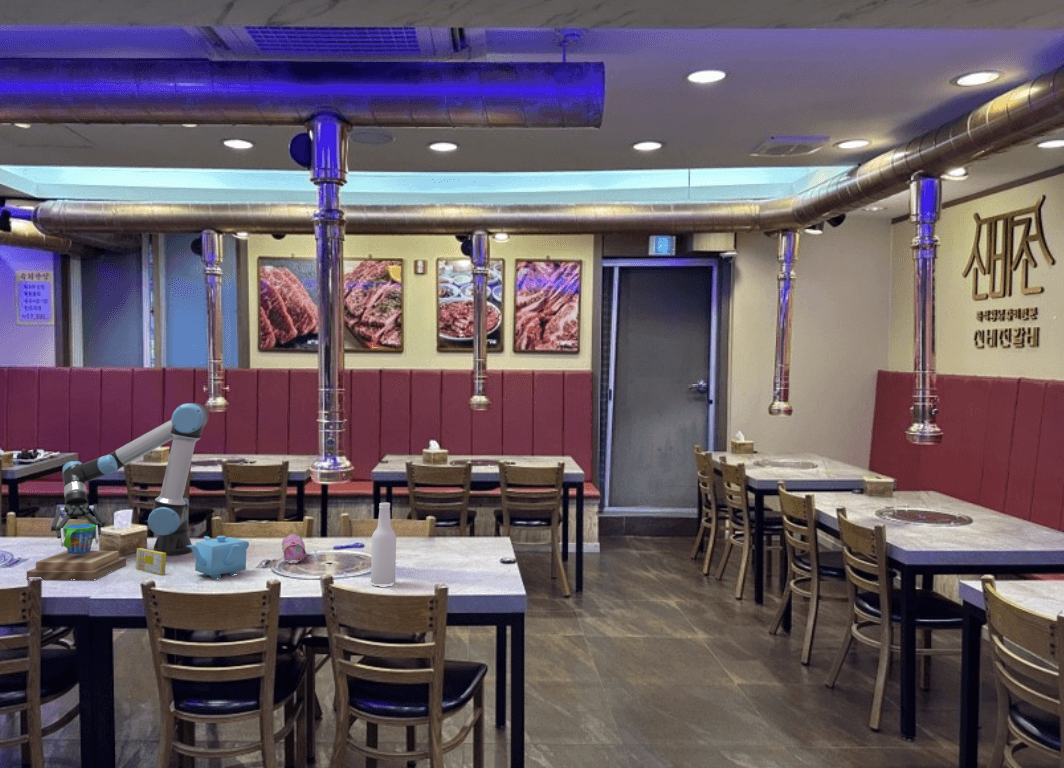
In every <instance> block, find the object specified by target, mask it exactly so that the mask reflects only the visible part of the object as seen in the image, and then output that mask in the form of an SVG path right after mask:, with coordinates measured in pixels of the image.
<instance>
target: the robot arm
mask: <svg viewBox="0 0 1064 768" xmlns="http://www.w3.org/2000/svg"><path fill="white" fill-rule="evenodd" d="M209 417H210V415H209V411H208V410H207V408H206V407H205V406H204V405H203V404H201V403H198V402H191V403H189V402H188V403H187V402H186V403H183V404H180V405H179V406H178V407H176V409H175V410H174V411H173V413H172V415H171V419H170V420H168V421H166V422H164V423H162V424H161V425H159V426H157V427H155V428H153V429H152V430H149V431H148V432H146V433H144V434H142V435H140V436H139V437H137V438H136V439H133V440H132V441H130V442H128V443H126V444H125V445H122V446H121V447H119V448H117V449H116V450H114V451H112V452H110V453H108V454H106V455H103V456H100V457H98V458H94V459H93V460H90V461H86V462H83V463H82V462H81V461H78V460H75V461H72V460H71V461H69V462H66V463H65V464H64V465H63V466H62V475H61V476H62V482H63V483H62V484H63V492H64V493H63V495H64V504H65V506H64V507H60V506H57V507H56V510H55V516H54V517H53V520H52V523H51V526H50V531H51V532H56V537H57V539H60V547H62V548H65V547H64V540H65V532H64V530H63V528H64V526H66V524H67V523H68V521H69V520H70V519H71V518H76V517H77V518H78V517H79V518H81V517H83V518H84V519H86V520H87V521H88V522H89V524H94V525H96V529H95V530H94V536H95V537H94V540H95V544H99V542H100V541H99V538H100V537H99V536H101V534H102V529H101V528H104V527H105V526H106V520H105V518H104V517H103V515H102V514H101V512H100V511H99V508H98V504H97V503H94V504H93V505H90V504H89V503H88V496H87V485H86V483H88V482H92V481H94V480H97V479H99V478H102V477H105V476H108V475H111V474H114V473H116V472H117V471H119V470H121V469H122V468H123V467H126V466H127V465H129V464H131V463H132V462H134V461H136V460H139V459H140V458H141V457H143V456H145V455H146V454H147V455H148V453H151V452H152V451H155V450H156V449H158V448H160V447H161V446H163V445H165V444H167V443H169V442H171V441H172V442H171V446H170V452H169V455H168V460H167V465H166V468H165V473H164V477H163V482H162V486H161V490H160V495H158V497H156V498H155V499H154V503H153V507H152V511H151V512H150V513H149V515H148V518H147V525H148V527H149V529H150V530H151V532H153V533H154V534H155V535H157V537H156V540H155V542H154V545H153V549H152V550H153V551H158V552H163V553H166V557H168V556H180V555H184V554H185V555H186V554H189V552H190V553H191V552H193V550H192V549H191V548H189V547H187V546H189V545H193V544H192V542H191V538H190V535H189V507H190V503H189V499H188V498H186V497H184V494H185V490H186V485H187V482H188V477H189V473H190V468H191V465H192V459H193V456H194V452H195V447H196V443H197V442H198V441H199V440H201V438H202V434H203V433H202V432H203V429H204V428H205V426H206V425H207V423H208V421H209V419H210V418H209ZM89 510H90V511H91V512H92V513H93V515H94V516H93V515H92V514H91V513H90V511H89ZM63 512H65V513H66V514H65V516H64V517H63V518H62V519H61V521H60V522H59V524H58V521H59V519H60V516H61V514H63ZM57 524H58V525H57Z"/></svg>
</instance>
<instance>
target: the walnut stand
mask: <svg viewBox="0 0 1064 768" xmlns="http://www.w3.org/2000/svg"><path fill="white" fill-rule="evenodd" d="M119 555H120V551H119V550H90V551H89V552H87V553H83V554H70V553H68V551H67V550H64V551H61V552H59V553H57V554H54V555H51V556H48V557H46V558H44V559H41V560H40V559H39V560H38V561H36V562H35V568H33V569H30V570H27V571H26V580H27V579H28V578H29V577H41V578H42V579H43V580H42V581H89V580H94V579H96V580H98V579H100V578H102V577H104V576H106V575H105V574H107V573H109V572H111V571H113V572H114V570H115V571H117V570H119V569H121V568H124V567H125V566H127V557H122V556H121V557H120V556H119ZM120 567H121V568H120ZM118 568H119V569H118ZM116 569H117V570H116ZM111 573H112V572H111ZM109 574H110V573H109ZM103 575H104V576H103ZM107 575H108V574H107ZM101 576H102V577H101ZM99 577H100V578H99ZM97 578H98V579H97ZM71 579H72V580H71ZM73 579H75V580H73ZM94 581H95V580H94Z"/></svg>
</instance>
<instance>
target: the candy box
mask: <svg viewBox="0 0 1064 768" xmlns="http://www.w3.org/2000/svg"><path fill="white" fill-rule="evenodd" d="M135 558H136V559H135V570H136V569H138V570H137V571H140V570H142V571H141V572H145V571H146V573H149V572H150V574H154V575H158V576H163V575H164V576H165V575H166V565H167V564H166V563H167V556H166V553H163V552H158V551H153V549H148V548H143V547H140V548H138V547H137V548H136V557H135Z"/></svg>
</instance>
